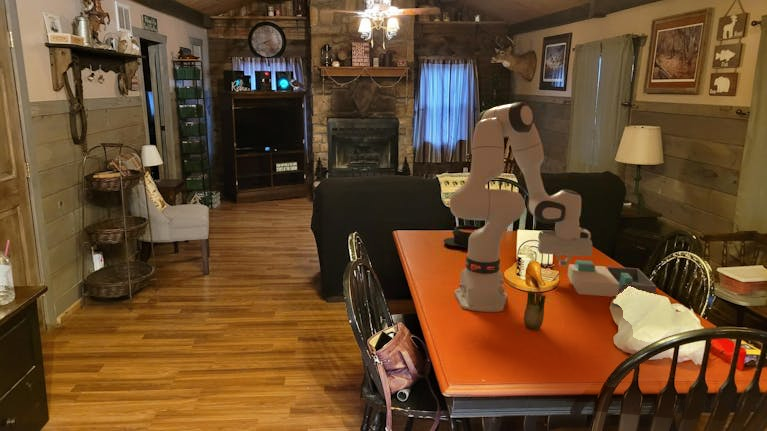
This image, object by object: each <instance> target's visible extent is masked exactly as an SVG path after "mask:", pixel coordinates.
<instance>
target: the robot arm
mask: <svg viewBox="0 0 767 431" xmlns="http://www.w3.org/2000/svg"><path fill="white" fill-rule="evenodd" d="M534 116H535V115H534V112H533V109H532V108H531V106H530V105H528V104H527V103H526V102H524V101H518V102H513V103H507V104H500V105H498V106H495V107H492V108H491V107H490V109H485V110H483V111H482V112H480V113H479V114H478V116H477V118H476V122H475V127H474V131H473V137H472V147H471V148H472V149H471V164H470V165H471V166H470V171H469V175H468V177H467V179H466V180H465V182H464V183H463V184H462V185H461V186H460V187H459V188H458V189H456V190H455V191H454V192H453V193H452V194H451V196H450V199H449V209H450V212H451V213H452V215H453V217H455V218H459V219H463V220H469V221H470V220H471V221H486V223H485V224H484V226H481V227H482V228H480V229H478V230H476V231H474V232H473V233H472V234H471V235H470V236H469V242H468V249H467V255H466V258H465V267H464V269H462V270H461V272H460V281H459V282H460V283H459V288H457V289H455V290H454V291H453V292H454V296H455V298H456V299H457V301H458V303H459V305H460V307H461V308H462V309H465V310H469V311H475V312H482V313H485V312H487V313H498V312H503V311H504V309H505V305H506V302H507V298H508V294H507V292H505V289H506V288H505V286H503V285H504V283H505V280H504V279H503V272H501V271H500V266H501V259H500V250H501V242H502V239H503V236H504V234H505V232H506V230H507V229H508V228H509V227H510V226H511V225H512V224H513V223H515V221H517V220H519V219H520V218H521V217H522V215H523V214H524V212H525V208H526V204H527V210H528V212H529V213H530V215H531V216H533V217H534V218H535V219H536V220H537V221H538V222H539V223H542V224H553V223H554V225H555V226H554V230H546V229H543V230H542V231H540V232H539V233H538V235H537V236H538V237H537V238H538V244H537V245H538V246H537V252H539V254H543V255H556V257H557V259H558V265H559V266H562V267H568V262H569V261H570V260H571V259H572V256H578V257H591V255H592V254H593V241H592V239H591V237H592V235H591V234H592V233H591V232H590V231H589V230H588V229H586V228H583V227H580V217H581V213H582V196H581V195H580V194H579V193H578V192H577V191H574V190H573V189H571V190H570V189H566V188H565V189H561V190H559V191H558V192H556V193H554V194H552V195H549V194H548V193H547V192H546V190H545V186H544V182H543V180H542V176H541V165H542V164H543V163H544V160H545V155H544V154H545V153H544V147H543V143H542V140H541V137H540V134H539V131H538V129H537V127H536V125H535V123H534V118H535V117H534ZM505 136H506V137H507V136H508V138H509V144H510V147H511V151H512V155H513V157H514V159H515V162H516V164H517V166H518V168H519V169H520V172H521V173H522V175H523V177H524V178H523V179H524V182H525V186H526V188H527V189H526V190H527V192H528V195H527V196H528V199H527V203H526V204H525V199H524V196H522V194H521V193H520V192H517V191H514V190H509V189H495V188H494V189H493V188H492V189H490V188H486V185H487V183H488V182H490V181H492V180H495V179H497V178H498V177H500V176H501V175H502V174H503V172H504V167H505V139H504V137H505ZM562 256H565V257H566V258H565V259H564V260H562V259H561V258H562Z"/></svg>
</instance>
